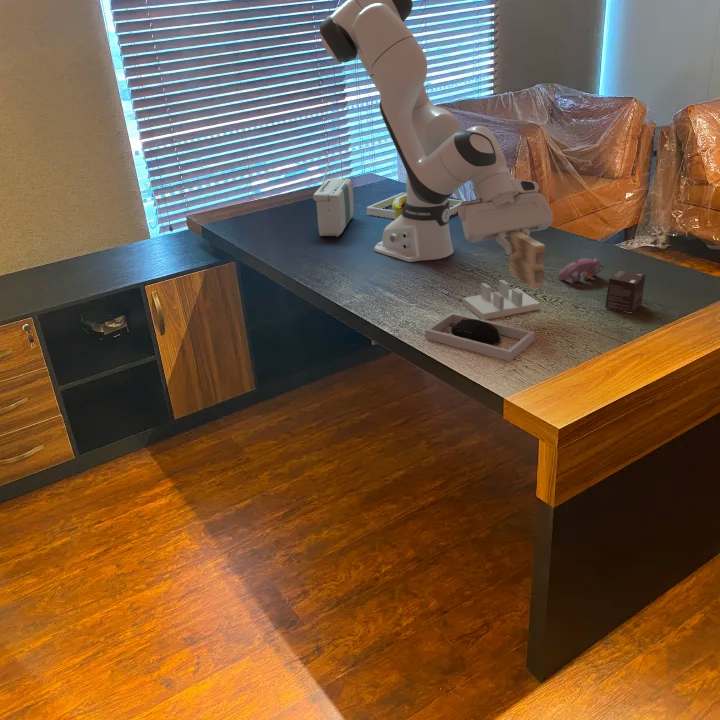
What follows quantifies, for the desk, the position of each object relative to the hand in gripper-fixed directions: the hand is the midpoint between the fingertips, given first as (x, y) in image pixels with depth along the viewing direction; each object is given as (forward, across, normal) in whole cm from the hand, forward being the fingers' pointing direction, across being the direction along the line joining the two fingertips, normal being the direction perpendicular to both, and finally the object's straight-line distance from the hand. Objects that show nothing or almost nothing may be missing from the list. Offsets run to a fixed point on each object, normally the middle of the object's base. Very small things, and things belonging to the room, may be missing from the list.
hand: (519, 251), depth 151 cm
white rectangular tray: (-50, +13, +70) cm, 87 cm away
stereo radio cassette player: (-47, -16, +68) cm, 85 cm away
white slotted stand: (+7, -1, +13) cm, 15 cm away
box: (+16, +22, +5) cm, 28 cm away
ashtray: (-49, +13, +70) cm, 86 cm away
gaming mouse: (+14, -14, +7) cm, 21 cm away
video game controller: (+3, +24, +18) cm, 30 cm away
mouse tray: (+16, -14, +4) cm, 21 cm away
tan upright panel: (+6, 0, +2) cm, 6 cm away
